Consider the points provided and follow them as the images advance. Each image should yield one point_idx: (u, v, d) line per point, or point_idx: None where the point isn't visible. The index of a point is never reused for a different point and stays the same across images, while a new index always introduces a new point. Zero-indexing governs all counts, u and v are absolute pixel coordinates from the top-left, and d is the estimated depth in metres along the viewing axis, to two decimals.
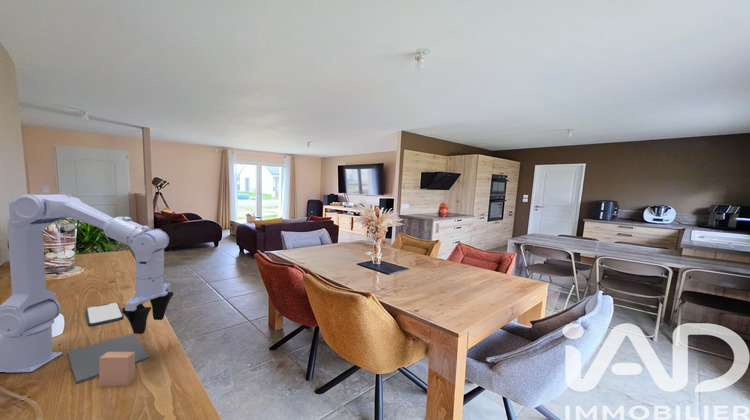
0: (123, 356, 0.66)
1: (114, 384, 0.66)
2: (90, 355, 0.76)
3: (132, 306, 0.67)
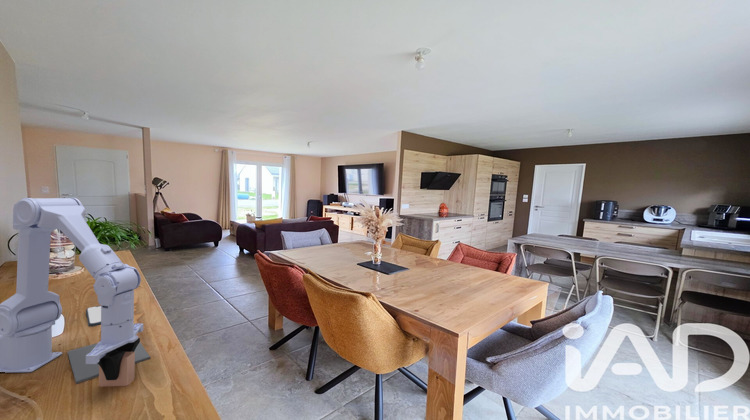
0: (123, 356, 0.66)
1: (114, 384, 0.66)
2: None
3: (94, 359, 0.60)
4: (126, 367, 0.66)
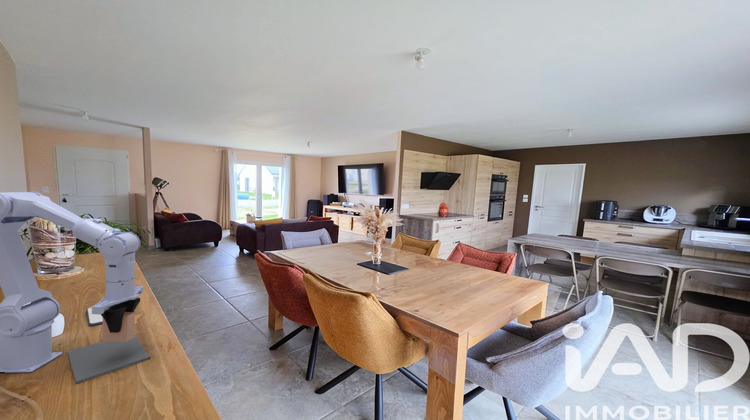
0: (123, 315, 0.74)
1: (115, 340, 0.74)
2: (90, 355, 0.76)
3: (99, 310, 0.67)
4: (126, 325, 0.74)
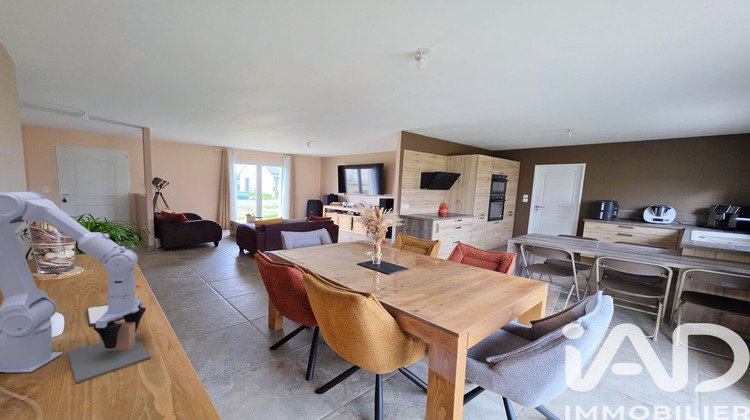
0: (125, 325, 0.79)
1: (118, 348, 0.79)
2: (90, 355, 0.76)
3: (103, 324, 0.72)
4: (128, 334, 0.79)
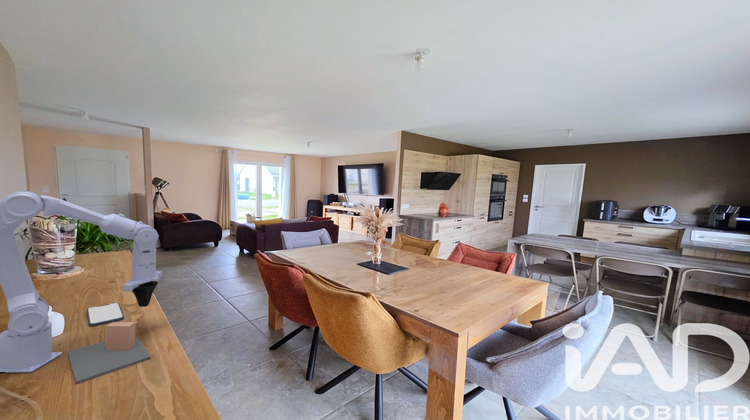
0: (125, 325, 0.79)
1: (118, 348, 0.79)
2: (90, 355, 0.76)
3: (129, 288, 0.81)
4: (128, 334, 0.79)
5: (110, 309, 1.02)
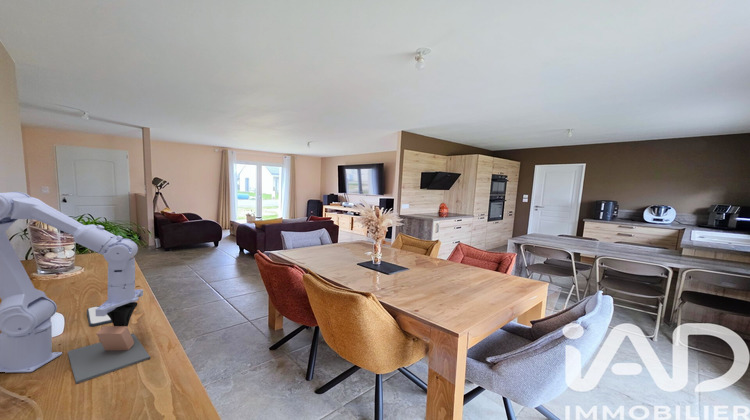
0: (117, 332, 0.76)
1: (117, 349, 0.79)
2: (90, 355, 0.76)
3: (103, 312, 0.72)
4: (123, 339, 0.77)
5: None
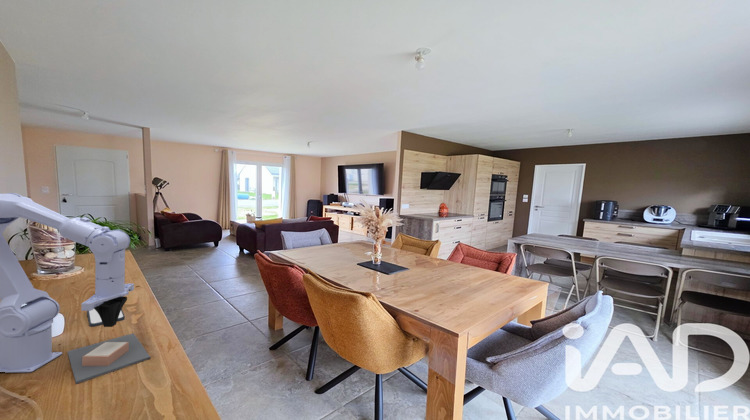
0: (103, 364, 0.72)
1: None
2: None
3: (89, 306, 0.68)
4: None
5: None
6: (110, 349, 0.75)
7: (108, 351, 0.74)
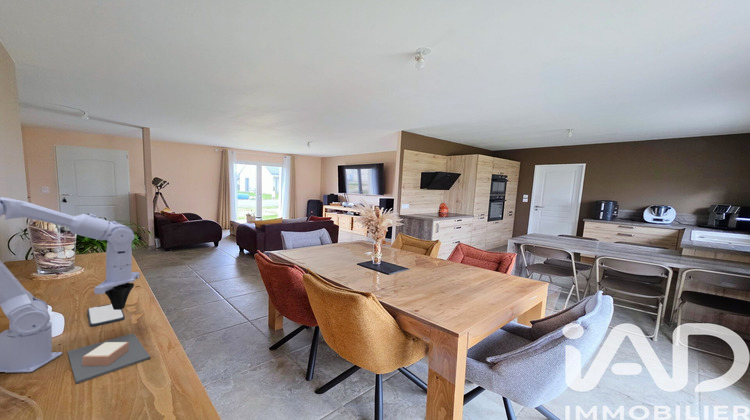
0: (103, 364, 0.72)
1: None
2: None
3: (101, 290, 0.77)
4: None
5: (111, 309, 1.02)
6: (110, 349, 0.75)
7: (108, 351, 0.74)
